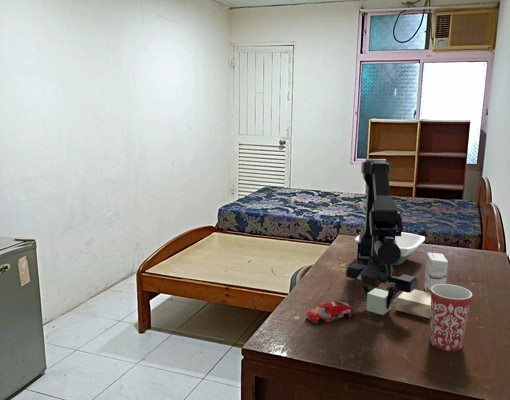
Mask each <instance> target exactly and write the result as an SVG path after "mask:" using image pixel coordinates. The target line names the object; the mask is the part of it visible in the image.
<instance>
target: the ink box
mask: <svg viewBox="0 0 510 400" xmlns="http://www.w3.org/2000/svg"><path fill="white" fill-rule="evenodd" d="M425 260H426V261H425V272H424V273H425V275H424V286H423V288H424V292H429V293H431V287H432V286H434V285H437V284H447V278H448V277H447V276H448V268H449V261H448V259H447V258H446V257H445V255H444V254H443V253H437V252H426V259H425Z"/></svg>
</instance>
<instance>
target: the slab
mask: <svg viewBox="0 0 510 400" xmlns="http://www.w3.org/2000/svg"><path fill="white" fill-rule="evenodd" d="M395 310H396V311H399V312H404V313H407V314H411V315H414V316H419V317H422V318H427V319H430V317H431V293H429V292H426V291H425V290H420V289H417V288H415V289H414V290H413V291H412V292H410V293H407V292H403V291H401V293H400V294H399V295H398V296H397V297H396V309H395Z"/></svg>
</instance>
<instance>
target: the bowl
mask: <svg viewBox="0 0 510 400" xmlns="http://www.w3.org/2000/svg"><path fill="white" fill-rule="evenodd" d="M359 236H360V234H359V235H357V236H356V237H355V239H354V241H355V242H356V243H357V242H359ZM425 240H426V237H425V236H423V235H419V234H415V233H409V232H401V236H395V242H396V244H397V245H398V247H399V248H400V251H401V256H400V259H399V260H398V261H397V262H396V263H394V264H392V266H400V265H402V264H403V263H405V261H406V260H407V259H408V258H409V257H410V256H411V255H412V254H413V252H414V251H415V250H416V249H418V247H419V246H420V245H422V244H423V243H424V242H425Z"/></svg>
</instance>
